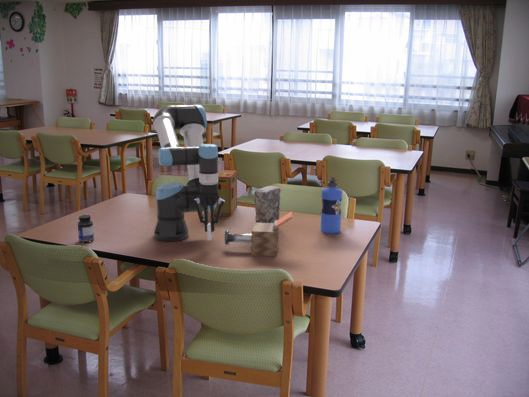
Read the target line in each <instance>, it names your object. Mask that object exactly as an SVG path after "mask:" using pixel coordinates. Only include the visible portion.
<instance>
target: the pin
mask: <svg viewBox="0 0 529 397" xmlns="http://www.w3.org/2000/svg"><path fill="white" fill-rule="evenodd" d="M230 243H240V244H241V243H243V244H244V243H245V244H246V243H248V244H250V243H251V244H252V233H233V232H232V233H231V231H230V230H229V229H227V230H225V232H224V245H225V246H230Z"/></svg>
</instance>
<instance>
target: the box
mask: <svg viewBox="0 0 529 397" xmlns="http://www.w3.org/2000/svg"><path fill="white" fill-rule="evenodd" d="M217 183H218V194H219V196H220V198H221V199H222V200H225V202H224V204H223V206H222V210H221V214H220V217H231V216H233V214H234V213H235V211H236V210H237V208H238V171H237V170H233V169H231V170H230V169H229V170H227V169H224V170H223V169H220V170H218V182H217ZM218 207H219V201H217V205H216V208H215V209H214V211H215V217H216V215H217V211H218Z"/></svg>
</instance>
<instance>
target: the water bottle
mask: <svg viewBox="0 0 529 397" xmlns="http://www.w3.org/2000/svg"><path fill="white" fill-rule="evenodd" d="M327 180H328V182H327V187H325V188H323V189H321V196H320V197H321V203H322V206H321V211H320V212H321V213H320V232H321V233H322V234H327V235H337V234H340V233H341V226H342V225H341V224H342V210H341V209H342V208H341V205H342V200H343V189H340V188H338V182H337V181H338V180H337V179H336V177H333V176H331V177H329V179H327Z"/></svg>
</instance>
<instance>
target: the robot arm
mask: <svg viewBox="0 0 529 397" xmlns="http://www.w3.org/2000/svg"><path fill="white" fill-rule="evenodd" d="M207 119H208V118H207V113H206V110H205V108H204V107H203V106H202V105H201V104H170V105H165V106H163V107H161V108H160V109H159V110H157V112H156V113H155V115H154V116H153V118H152V125H153V129H154V130H155V132H157V137H158V140H159V144H160V145H159V146H160V148H158V152H157V154H158V155H157V156H158V164H159V165H160V166H162V167H173V166H175V167H176V166H187V171H188V172H187V173H188V180H187V182H186V185H184V183H183V182H179V181H178V182H176V181H175V182H167V183H165V184H162V185H160V186H158V187H157V188H156V197H155V199H156V215H157V217H156V218H157V219H156V223H155V228H154V229H153V237H154V239H155V238H156V240H157V241H161V242H162V241H163V242H176V241H182V240H185V239H187V238H188V237H189V236H190V234H189V227H188V225H187V223H186V220H185V213H196V212H197V215H198V220H199V222H200V224H203V225H204V232H206V233H207V234H206V235H207V241H212V239H213V233H214V232H215V230H216V229H215V225H216V224H218V223H219V221H220V218H221V216H220V214H221V210H222V206H223V204H224V202H225V200H222V199H221V198H220V196H219V194H218V183H217V182H218V171H219V159H218V156H219V151H218V145H217V144H215V143H214V144H213V143H204V138H203V134H204V132H205V129H206V130H207V126H208V120H207ZM176 131H179V134H180V135H181V136H182V137H183V140H184V146H180V143H179V140H178V136H177V134H176ZM217 201H219V207H218V211H217V215H216V216H215V211H214V209H215V208H216V205H217ZM209 213H210V222H209Z"/></svg>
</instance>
